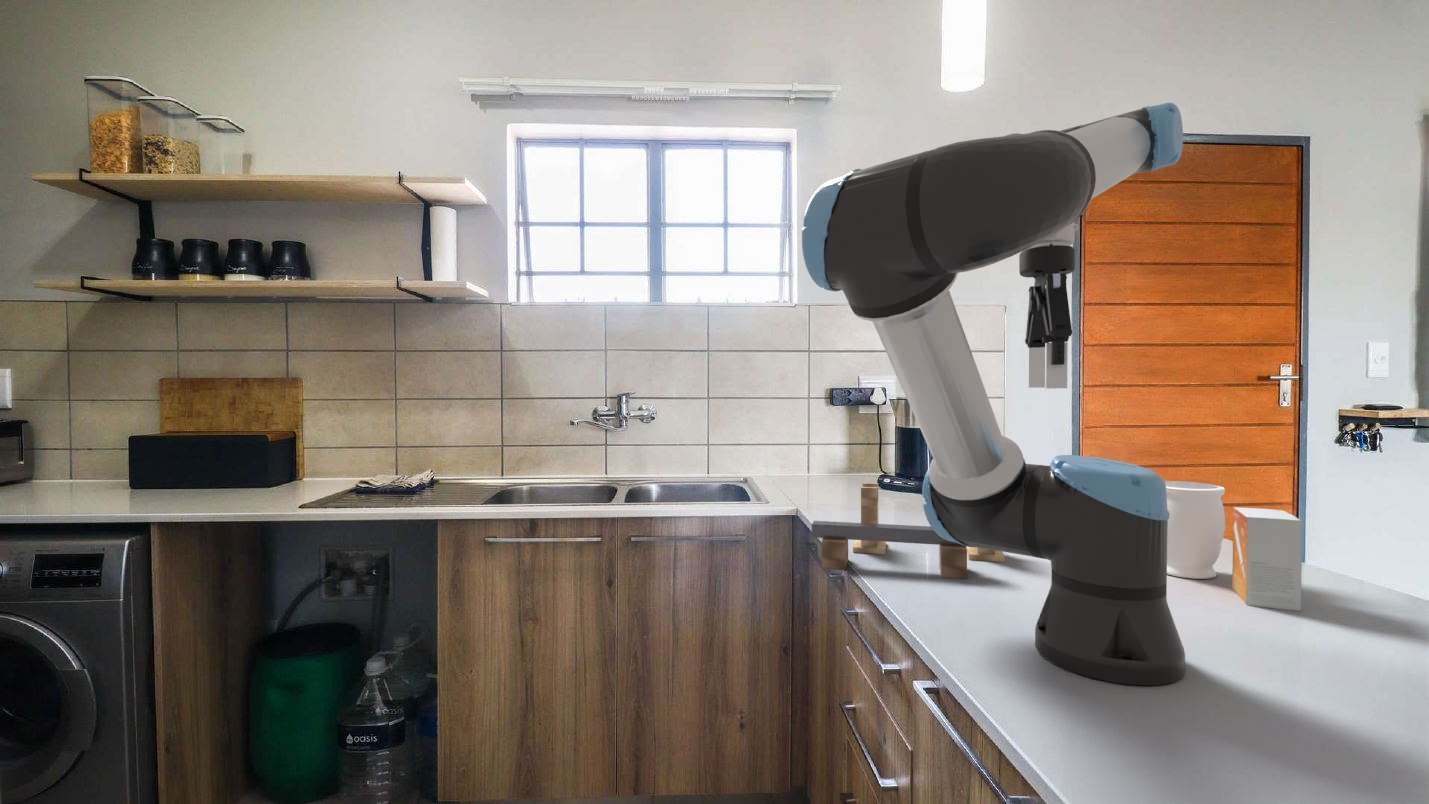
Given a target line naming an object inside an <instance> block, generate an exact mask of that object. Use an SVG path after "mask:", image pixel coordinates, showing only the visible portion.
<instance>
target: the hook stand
mask: <svg viewBox="0 0 1429 804" xmlns="http://www.w3.org/2000/svg"><path fill="white" fill-rule="evenodd" d="M860 523H870V524H879V483H878V482H862V486H860ZM886 548H887V542H884V541H867V540H854V543H853V546H852V553H859V554H876V555H885V554H886ZM966 548H967V559H968V560H970V561H972V560H973V561H987V562H1001V563H1002V562H1003V563H1004V562H1005V555H1004V552H1002V551H996V550H990V549H984V548H979V547H967V546H966Z"/></svg>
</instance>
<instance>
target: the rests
mask: <svg viewBox="0 0 1429 804" xmlns="http://www.w3.org/2000/svg"><path fill="white" fill-rule="evenodd" d="M938 546H939V548H938V549H939V550H938V551H939V554H938V555H939V556H938V557H939V559H938V561H939V563H938V564H939V571H940V577H941V578H947V579H948V578H949V579H962V580H963V579H964V580H967V579H968V555H967V548H966V546H953V545H938ZM848 562H849V539H832V538H821V569H824V570H839V571H845V570H846V568H847V564H848Z"/></svg>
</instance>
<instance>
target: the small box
mask: <svg viewBox="0 0 1429 804" xmlns="http://www.w3.org/2000/svg"><path fill="white" fill-rule="evenodd" d="M1302 544H1303V521H1302V520H1301V519H1300V518H1298V517H1296V516H1295V515H1293V514H1291V513H1289V512H1287V511H1285V510H1283V509H1271V508H1258V507H1257V508H1255V507H1238V506H1236V507H1235V506H1234V507H1232V568H1231V569H1232V572H1231V573H1232V575H1231V576H1232V577H1231V578H1232V579H1231V584H1232V585H1231V586H1232V587H1231V588H1232V590H1234V592H1235V593H1236V594H1237V595H1238V596H1239V597H1240V598H1241V600H1242V601H1243V602H1244V604H1245V605H1247V606H1251V607H1252V606H1253V607H1261V608H1271V609H1279V610H1286V611H1295V612H1296V611H1298V612H1300V611H1301V612H1302V572H1303V571H1302V567H1303V565H1302V563H1303V561H1302V559H1303V558H1302V556H1303V555H1302V554H1303V552H1302V551H1303V550H1302V549H1303V548H1302V547H1303V546H1302Z"/></svg>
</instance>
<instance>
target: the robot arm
mask: <svg viewBox="0 0 1429 804" xmlns="http://www.w3.org/2000/svg"><path fill="white" fill-rule="evenodd" d="M1182 120H1183V119H1182V115H1181V111H1180V109H1179V107H1178V106H1177V105H1176V104H1175V103H1173V102H1165V103H1161V104H1157V105H1152V106H1149V105H1147V106H1144V107H1142V108H1139V109H1136V110H1132V111H1129V112H1125V113H1124V112H1123V113H1120V114H1118V115H1114V116H1110V117H1107V118H1103V119H1099V120H1096V121H1092V122H1089V123H1086V124H1081V125H1077V126H1073V127H1069V128H1065V129H1062V130H1055V129H1054V130H1052V129H1044V130H1043V129H1041V130H1037V131H1036V130H1035V131H1033V132H1028V133H1019V132H1017V133H1009V134H1006V135H1003V136H994V137H983V138H977V139H969V140H964V141H962V140H961V141H957V142H953V143H950V144H946V145H942V146H938V147H937V148H933V149H930V150H925V151H923V152H919V153H916V154H912V155H908V156H905V157H901V158H898V159H897V158H896V159H893V160H892V161H887V162H884V163H880V164H876V165H873V166H870V167H866V168H863V169H862V168H857V169H852V170H850V171H849V172H848V173H847V174H844V175H841V176H838V177H836V178H833V179H830V180H828V181H825V182H824V183H823V184H822V185H820V187H818V188H817V189H816V191H815V192H814V193H813V195H812V196H811V198H810V200H809V202H808V204H807V207H806V210H805V213H804V215H803V227H802V230H801V249H802V256H803V260H804V264H805V268H806V269H807V273H808V275H809V276H810V278H811V280H812V281H813V282H814V283H815V284H816V285H817V286H818V287H819V288H822V289H824V290H826V291H829V292H830V291H831V292H840V291H842V292H843V293H844V295H845V297H846V300H847V303H848V305H849V307H850V309H851V311H852V313H853V314H854V315H855V316H856V317H857V318H859V319H861V320H864V321H867V322H868V321H869V322H872V323H873V325H874V328H875V330H876V332H877V334H878V336H879V339H880V341H881V343H882V345H883V348H884V351H885V353H886V355H887V357H888V359H889V361H890V364H891V366H892V369H893V371H894V373H895V375H896V377H897V380H898V382H899V384H900V386H901V389H902V391H903V393H904V396H905V398H906V400H907V402H908V404H909V407H910V409H911V411H912V414H913V415H914V418H915V420H916V423H917V424H918V427H919V429H920V431H921V434H922V437H923V438H924V441H925V443H926V445H927V447H928V449H929V452H930V454H931V457H932V459H931V461H930V463H929V467H928V469H927V471H926V473H925V475H924V479H923V481H922V491H921V492H922V493H921V494H922V495H921V496H922V498H924V502H923V504H922V506H923V512H924V515H925V517H926V520H927V522H928V524H929V527H932V529H933V530H934V531H935V532H936V533H937V534H938V535H939V536H940V537H942V538H943V539H945V540H948V541H951V542H956V543H958V544H961V545H964V546H967V547H979V548H984V549H990V550H996V551H1002V553H1009V554H1010V553H1011V554H1015V555H1021V556H1027V557H1032V558H1038V559H1044V560H1047V561H1050V564H1051V568H1050V569H1051V577H1050V578H1051V582H1050V584H1051V585H1050V587H1049V590H1048V593H1047V595H1046V598H1045V601H1044V603H1043V606H1042V608H1041V611H1040V614H1039V615H1038V619H1037V622H1036V624H1035V629H1034V631H1035V632H1034V637H1035V639H1034V641H1035V642H1034V646H1035V649H1036V650H1037V652H1038V654H1039V655H1040V656H1042V657H1043V658H1045V660H1048V661H1049V662H1050V663H1052V664H1054V665H1056V666H1058V667H1060V668H1063V669H1064V670H1067V671H1069V672H1073V673H1076V674H1079V675H1082V676H1085V677H1089V678H1093V679H1097V680H1102V681H1106V682H1111V683H1117V684H1124V685H1133V686H1136V685H1137V686H1158V685H1161V686H1162V685H1166V684H1167V685H1168V684H1171V683H1174V682H1177V681H1180V680H1182V678H1183V677H1184V676H1185V675H1186V674H1185V673H1186V653H1185V648H1184V646H1183V643H1182V640H1181V637H1180V635H1179V632H1178V628H1177V626H1176V624H1175V621H1174V618H1173V616H1172V613H1171V609H1170V607H1169V605H1168V596H1167V593H1168V592H1167V580H1168V579H1167V578H1168V577H1167V576H1168V574H1167V525H1168V519H1169V516H1170V514H1169V511H1168V508H1167V492H1166V485H1165V482H1164V481H1165V480H1164V479H1163V478H1162V477H1161V476H1160V474H1158V473H1156V471H1153V470H1151V469H1150V468H1149V469H1148V468H1147V467H1143V466H1140V465H1137V464H1132V463H1130V462H1129V463H1128V462H1124V461H1119V460H1114V459H1109V458H1102V457H1095V456H1082V455H1076V454H1075V455H1074V454H1059V455H1056V456H1054V457H1053V458H1052V461H1051V462H1050V464H1049V465H1044V464H1036V463H1033V464H1032V463H1026V460H1025V458H1024V455H1023V452H1022V449H1021V448H1020V446H1019V445H1018V444H1017V443H1016V442H1015V441H1013V440H1012V439H1010V438H1008V437H1006V436H1004V435H1003V434H1002V433H1001V429H1000V427H999V423H998V421H997V419H996V415H995V412H994V411H993V407H992V405H991V403H990V402H991V401H990V399H989V397H988V394H987V391H986V388H985V385H984V383H983V380H982V378H981V374H980V371H979V370H978V369H979V368H978V367H977V364H976V361H975V358H974V355H973V352H972V350H971V347H970V344H969V342H968V340H967V339H968V338H967V335H966V334H965V331H964V328H963V325H962V322H961V320H960V317H959V314H958V311H957V309H956V306H955V303H954V300H953V298H952V294H951V292H950V289H951V288H952V286H953V285H954V283H955V282H956V280H957V277H958V273H959V274H960V273H965V272H971V271H973V270H977V269H978V270H979V269H982V268H985V267H988V266H990V265H993V264H996V263H998V262H1000V261H1001V262H1002V261H1003V260H1006V259H1008V258H1010V257H1013V256H1015V255H1017V254H1019V257H1018V258H1019V259H1018V260H1019V261H1018V262H1019V265H1018V267H1019V273H1018V274H1019V275H1020V276H1021V277H1023V278H1032V279H1034V284H1033V286H1032V285H1031V286H1029V288H1028V292H1029V294H1028V310H1027V311H1028V312H1027V321H1026V333H1025V338H1024V343H1025V345H1026V346H1027V388H1028V389H1029V388H1030V389H1031V388H1032V389H1033V388H1037V389H1038V388H1044V389H1068V345H1069V344H1068V343H1069V342H1068V341H1069V339H1070V337H1072V335H1073V330H1072V323H1071V322H1072V321H1071V314H1070V313H1071V312H1070V305H1069V298H1068V288H1067V279H1068V275H1070V274H1072V273H1073V272H1074V271H1075V268H1076V267H1075V266H1076V250H1075V248H1074V247H1073V246H1072V245H1073V244H1075V232H1076V231H1079V228H1080V225H1079V224H1076V223H1075V221H1076V220H1077V219H1079V218H1080V217H1081V216H1082V215H1083V213H1084V212H1085V210H1086V209H1087V208H1088V206H1089V205H1090V203H1091V201H1092V199H1094V198H1096V197H1098V196H1100V195H1101V194H1102V193H1105V192H1106V191H1107V190H1109V189H1110V188H1112V187H1114V186H1115V185H1117V184H1119V183H1121V182H1122V181H1124V180H1126V179H1127V178H1129V177H1131V176H1133V175H1137V174H1140V173H1145V172H1155V171H1156V170H1158V169H1163V168H1167V167H1169V166H1173V165H1175V164H1176V163H1178V161H1179V160H1180V158H1181V156H1182V154H1183V146H1184V129H1183V127H1184V126H1183V121H1182Z"/></svg>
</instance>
